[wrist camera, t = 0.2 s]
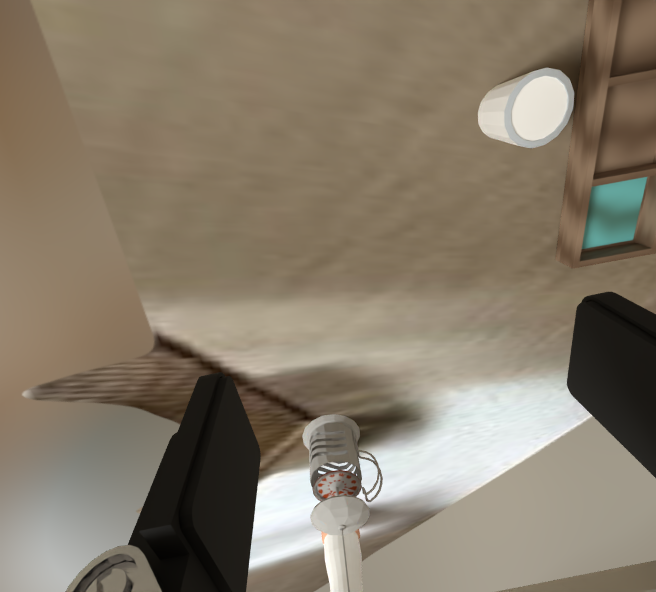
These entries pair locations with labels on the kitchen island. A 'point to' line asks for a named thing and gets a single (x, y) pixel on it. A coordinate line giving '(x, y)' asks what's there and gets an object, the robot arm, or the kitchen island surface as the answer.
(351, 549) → the pepper shaker
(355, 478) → the french press
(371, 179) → the kitchen island surface
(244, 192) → the kitchen island surface
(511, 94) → the white cup
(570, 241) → the rack
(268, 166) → the kitchen island surface
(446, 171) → the kitchen island surface
